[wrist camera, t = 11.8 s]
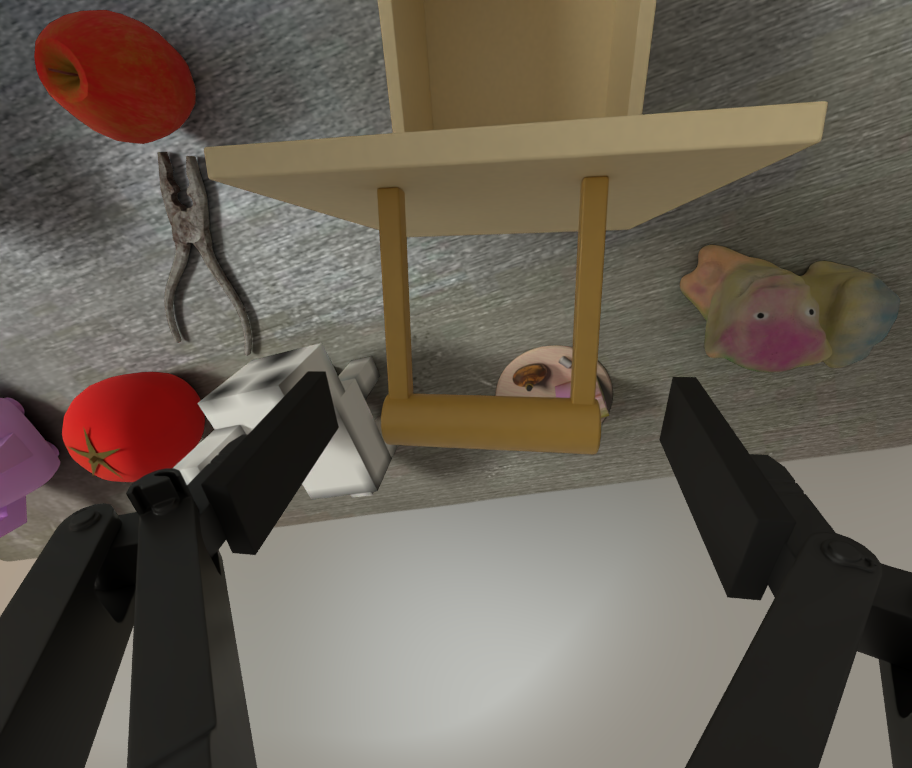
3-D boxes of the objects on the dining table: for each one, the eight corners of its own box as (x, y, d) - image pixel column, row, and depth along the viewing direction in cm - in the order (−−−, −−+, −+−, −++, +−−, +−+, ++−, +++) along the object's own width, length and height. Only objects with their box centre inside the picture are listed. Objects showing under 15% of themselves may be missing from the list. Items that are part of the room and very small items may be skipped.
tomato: (236, 391, 51) (157, 459, 40) (209, 450, 57) (134, 523, 46) (139, 332, 49) (28, 387, 38) (121, 400, 55) (20, 464, 44)
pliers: (179, 356, 49) (94, 158, 39) (184, 353, 50) (102, 158, 40) (257, 356, 47) (187, 149, 37) (261, 353, 48) (194, 149, 38)
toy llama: (356, 456, 54) (272, 606, 36) (291, 328, 46) (147, 442, 29) (411, 447, 51) (350, 602, 34) (353, 312, 44) (237, 425, 27)
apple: (183, 163, 39) (76, 172, 30) (105, 77, 37) (-38, 57, 27) (235, 96, 36) (131, 81, 27) (152, -4, 33) (7, -59, 24)
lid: (201, 146, 11) (248, 466, 13) (830, 99, 9) (762, 497, 11) (401, 224, 29) (407, 358, 31) (630, 216, 26) (619, 361, 29)
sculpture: (884, 251, 34) (1002, 289, 25) (835, 348, 38) (922, 409, 30) (689, 242, 36) (738, 274, 27) (663, 335, 40) (698, 389, 32)
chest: (409, -68, 29) (360, -151, 21) (636, -102, 27) (684, -212, 18) (432, 209, 38) (403, 229, 29) (605, 202, 35) (628, 221, 27)
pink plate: (590, 327, 41) (596, 347, 37) (627, 425, 45) (636, 451, 42) (477, 370, 45) (471, 391, 41) (521, 455, 49) (520, 482, 46)
